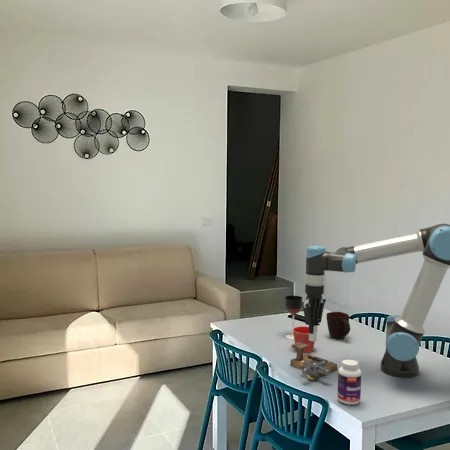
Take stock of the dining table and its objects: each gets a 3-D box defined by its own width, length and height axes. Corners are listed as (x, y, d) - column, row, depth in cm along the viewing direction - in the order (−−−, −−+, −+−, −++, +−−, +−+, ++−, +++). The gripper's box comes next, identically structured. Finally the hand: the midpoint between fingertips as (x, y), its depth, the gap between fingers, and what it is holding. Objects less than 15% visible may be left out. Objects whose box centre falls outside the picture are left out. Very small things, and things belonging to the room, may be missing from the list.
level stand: (337, 369, 212) (337, 348, 211) (321, 376, 204) (321, 355, 204) (306, 359, 224) (307, 339, 223) (290, 365, 216) (290, 345, 215)
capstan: (340, 379, 201) (340, 363, 200) (317, 389, 191) (318, 373, 191) (311, 368, 211) (311, 353, 211) (288, 378, 202) (288, 362, 201)
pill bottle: (346, 407, 177) (347, 368, 176) (332, 398, 185) (333, 360, 183) (365, 403, 181) (366, 364, 179) (351, 394, 188) (352, 357, 187)
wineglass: (304, 337, 253) (305, 298, 251) (291, 340, 249) (292, 300, 246) (294, 333, 260) (294, 294, 258) (281, 336, 255) (281, 297, 253)
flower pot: (316, 354, 229) (316, 334, 228) (291, 353, 231) (292, 332, 230) (316, 347, 239) (317, 327, 238) (293, 345, 241) (293, 325, 240)
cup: (339, 334, 259) (340, 311, 258) (356, 342, 246) (357, 318, 245) (323, 336, 255) (323, 313, 254) (339, 345, 242) (339, 320, 241)
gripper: (317, 280, 212) (315, 335, 215) (297, 284, 203) (295, 341, 206) (331, 283, 207) (329, 339, 209) (312, 288, 198) (310, 346, 200)
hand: (312, 340), depth 207 cm, fingers closed
